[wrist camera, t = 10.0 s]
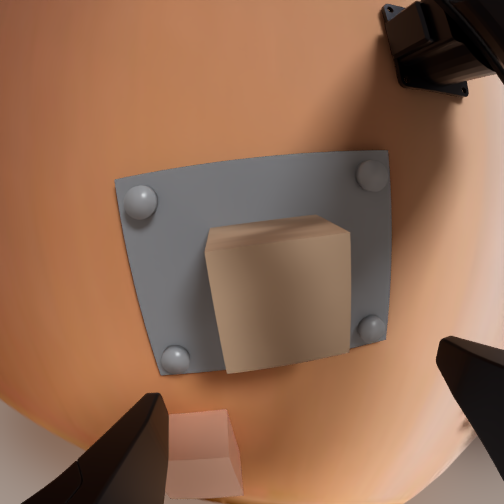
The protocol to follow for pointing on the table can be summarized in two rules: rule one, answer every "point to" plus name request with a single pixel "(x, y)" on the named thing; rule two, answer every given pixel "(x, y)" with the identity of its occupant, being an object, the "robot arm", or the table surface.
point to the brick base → (280, 291)
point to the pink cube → (203, 456)
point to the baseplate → (246, 211)
